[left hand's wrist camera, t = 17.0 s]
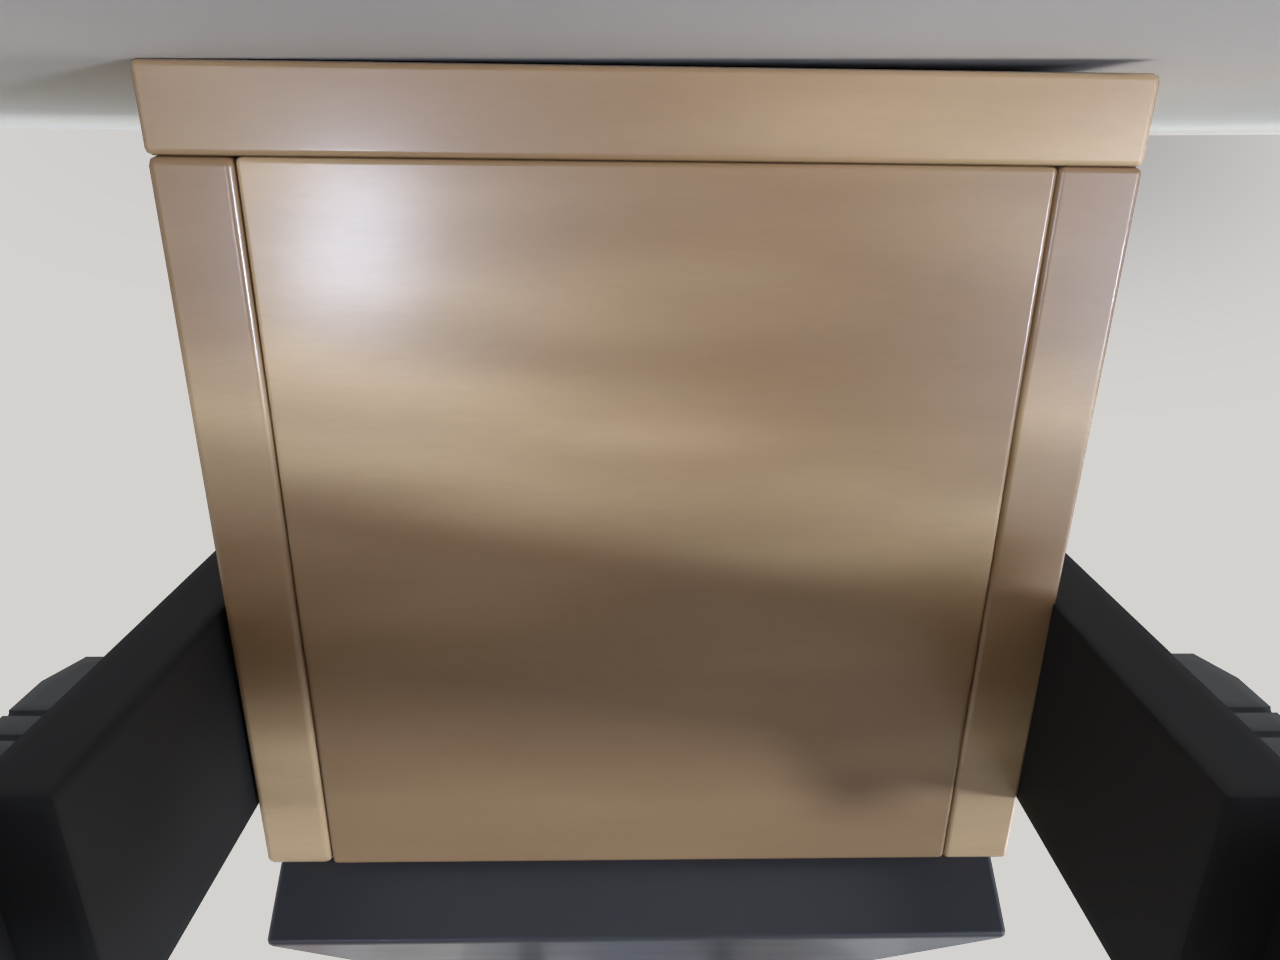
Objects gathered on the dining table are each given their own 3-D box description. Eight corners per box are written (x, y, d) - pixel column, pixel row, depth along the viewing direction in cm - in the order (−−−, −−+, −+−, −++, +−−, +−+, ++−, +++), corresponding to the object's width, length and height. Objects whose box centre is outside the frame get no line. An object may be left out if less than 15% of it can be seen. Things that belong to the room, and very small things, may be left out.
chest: (805, 123, 23) (781, 450, 26) (451, 119, 23) (470, 449, 26) (1163, 73, 8) (1006, 859, 11) (125, 57, 8) (266, 865, 11)
